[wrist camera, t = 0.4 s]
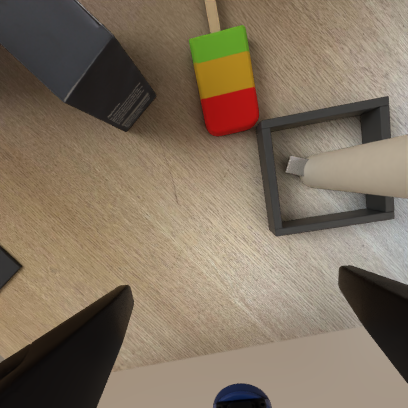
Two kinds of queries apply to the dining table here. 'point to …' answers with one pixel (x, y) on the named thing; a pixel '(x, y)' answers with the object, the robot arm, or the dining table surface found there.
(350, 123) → the dining table surface
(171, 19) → the dining table surface
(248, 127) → the popsicle
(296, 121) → the grey picture frame
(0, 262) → the rubber mat
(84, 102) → the box
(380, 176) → the white tall round cylinder
